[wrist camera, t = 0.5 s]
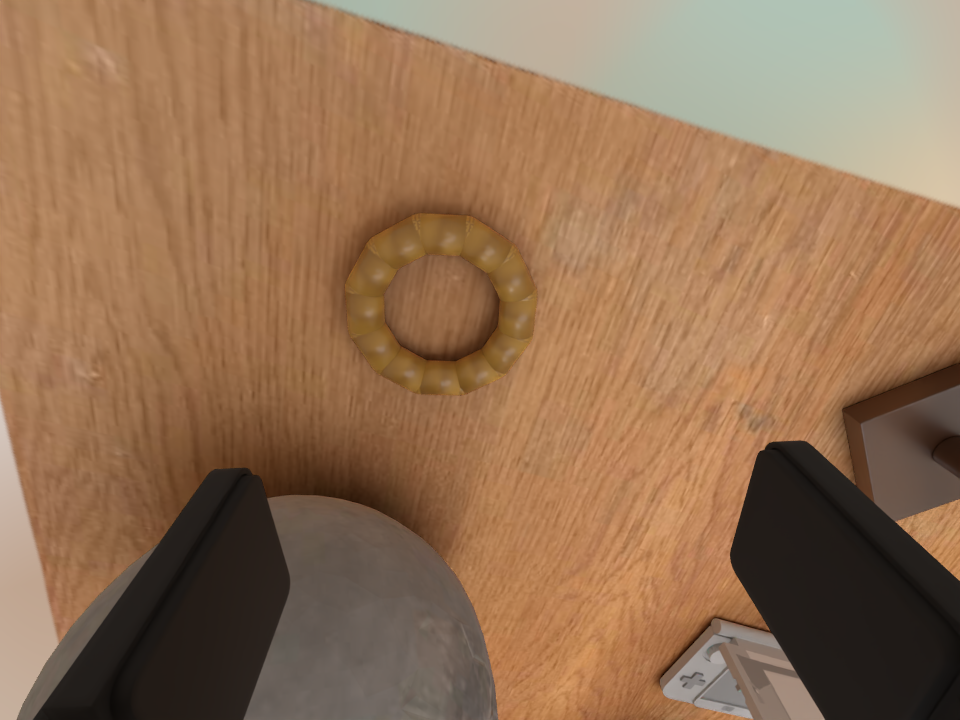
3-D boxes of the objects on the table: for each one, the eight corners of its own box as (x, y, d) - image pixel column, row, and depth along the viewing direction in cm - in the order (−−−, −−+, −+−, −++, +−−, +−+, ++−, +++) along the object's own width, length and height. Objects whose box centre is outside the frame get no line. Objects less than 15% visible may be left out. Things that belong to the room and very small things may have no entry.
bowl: (159, 627, 34) (-35, 955, 21) (177, 388, 26) (-130, 676, 12) (437, 672, 38) (425, 976, 24) (531, 475, 29) (593, 771, 16)
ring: (482, 174, 22) (484, 178, 20) (560, 339, 25) (567, 353, 24) (313, 267, 23) (302, 277, 22) (410, 409, 27) (407, 427, 25)
